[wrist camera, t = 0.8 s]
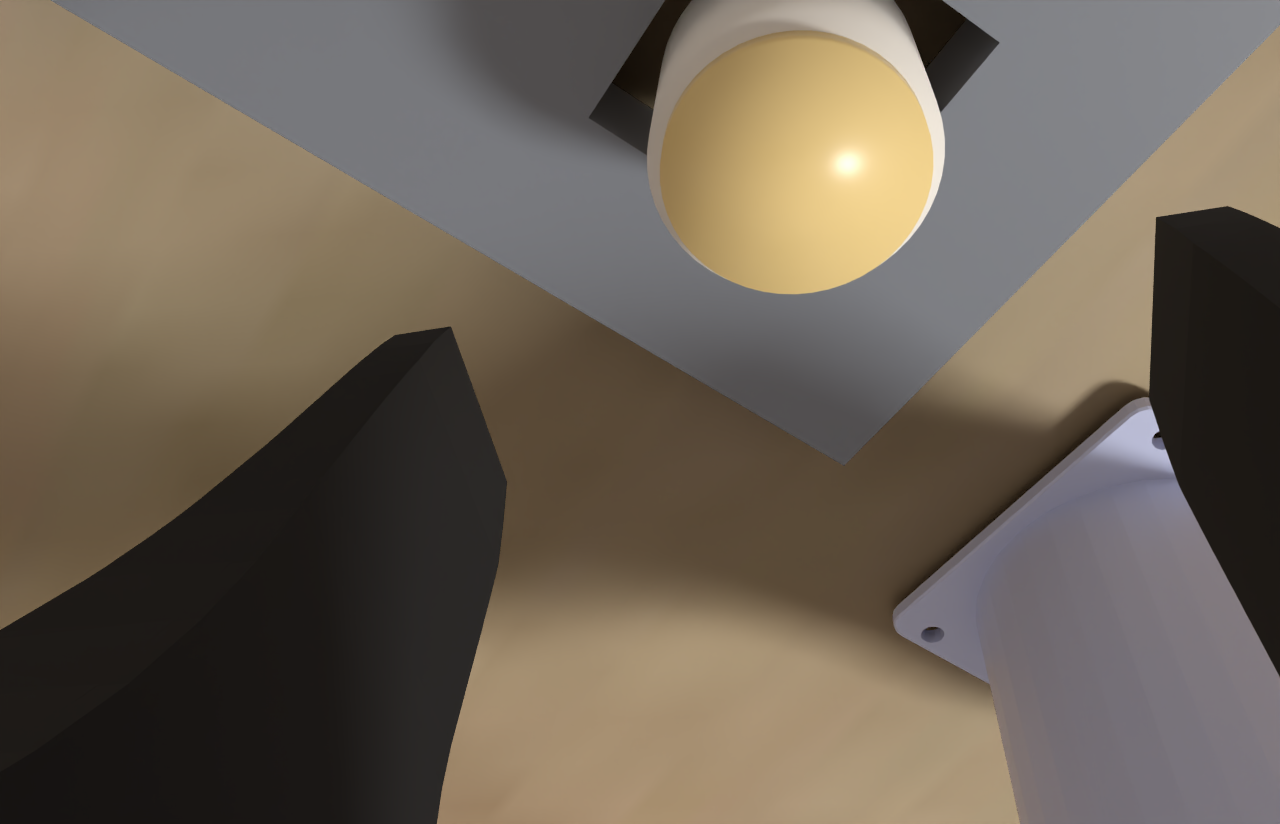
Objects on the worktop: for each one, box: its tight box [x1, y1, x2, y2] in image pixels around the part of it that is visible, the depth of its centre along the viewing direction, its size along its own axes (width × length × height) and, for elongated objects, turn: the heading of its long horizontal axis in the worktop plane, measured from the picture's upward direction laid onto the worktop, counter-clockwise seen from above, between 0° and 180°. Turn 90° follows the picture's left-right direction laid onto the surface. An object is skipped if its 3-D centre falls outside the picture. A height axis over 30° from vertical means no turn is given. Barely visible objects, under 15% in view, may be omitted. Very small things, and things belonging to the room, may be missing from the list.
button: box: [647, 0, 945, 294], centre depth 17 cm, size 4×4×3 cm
